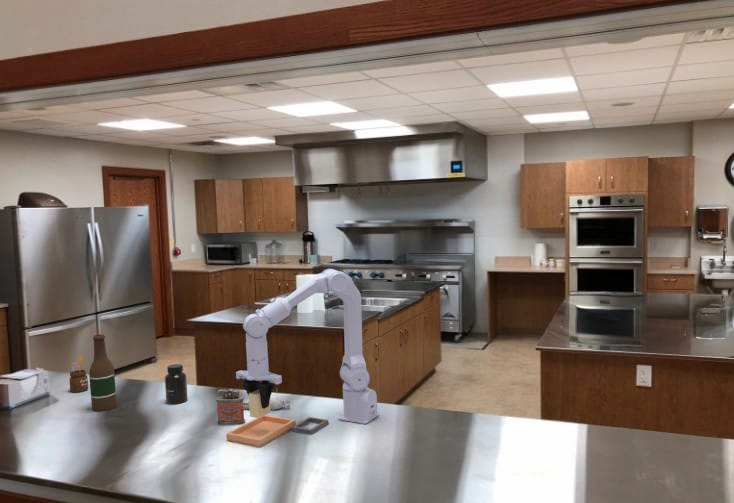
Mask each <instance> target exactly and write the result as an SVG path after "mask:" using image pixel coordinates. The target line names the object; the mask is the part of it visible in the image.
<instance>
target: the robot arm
mask: <svg viewBox="0 0 734 503" xmlns="http://www.w3.org/2000/svg"><path fill="white" fill-rule="evenodd" d="M328 291H329V292H331V293H333V294H335V296H337V297H338V298H339V299H340V300H341V301H342V302H343V304H342V305H343V331H344V332H343V334H344V335H343V336H344V355H343V357H342V359H341V360H342V364H341V367H340V370H339V377H340V378H341V380H342V381H343V385H342V400H343V414H342V415H340V416H338V420H339V421H346V422H353V423H358V424H363V425H364V424H365V425H366V424H368V423H369V422H371V421H373V420H374V419H375V418H377V417H378V416H379V415H380V414H379V413H378V396H377V392H376V391H375V390H374V389H371V388H369V387H368V385H369V383H370V374H369V372H368V370H367V363H366V361H365V360H366V359H365V358H364V355H363V322H362V320H363V319H362V318H363V316H362V294H361V292H360V291H359V289H358V287H357V286H356V284H355V282H354V280H353V278H352V277H351V276H349V275H348V274H347V273H345V272H343V271H339V270H336V269H334V268H327V269H325V270H323V271H322V272H320V273H317V274H316V275H314V276H313V277H312V278H310V279H309V280H308V281H307V282H305V283H303V284H302V285H301V286H300V287H298V288H297V289H296V290H294V291H293V292H291V293H290V294H289V295H287V296H286V297H284V298H282V297H276V298H274V297H273V298H271V299H270V300H269V301H270V303H268V304H267V305H265V306H263V307H262V308H261V309H259V308H257V309H256V310H255V313H251V314H249V315H247V316H246V317H245V318H244V319H245V320H243V321H244V322H243V324H242V328H243V329H244V331H245V341H246V342H245V349H246V366H247V368H246V370H238V371H236V372H235V375H236V376H235V377H236V380H240V379H242V380H244V381H243V382H242V383H241V386H242V387H243V388H244V390H245V392H246V393H247V395H248V397H249V393H251V392H253V391H255V390H259V393H260V397H261V405H262V408H263V409H264V408H267V407H269V401H270V398H272V397H271V395H272V394H273V390H274V388H275V386H276V385H280V384H282V382H283V380H282V379H283V378H282V376H283V375H279V374H276V373H273V372H270V370H269V369H270V368H269V352H268V340H267V333H268V331H269V329H270V328H272V327H274V326H275V325H277V324H278V323H279V322H281V321H283V320H285V318H287V317H289V316H290V314H291V310H292V308H294V307H296V306H297V305H299V304H301V303H302V302H303V301H305V300H307V299H308V298H310V297H312V296H313V295H315V294H328V293H329V292H328Z"/></svg>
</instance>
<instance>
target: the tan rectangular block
mask: <svg viewBox="0 0 734 503" xmlns="http://www.w3.org/2000/svg"><path fill="white" fill-rule="evenodd" d="M248 400H249V407H250V409H249V417H251V418H254V419H256V418H260V417H262V416H264V415H268V414H270V413H271V410H270V401H269V407H267V408H264V409H263V408H262V405H261V397H260V393H259V390H255V391H253V392H251V393H249V396H248Z"/></svg>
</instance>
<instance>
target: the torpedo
mask: <svg viewBox="0 0 734 503" xmlns="http://www.w3.org/2000/svg"><path fill="white" fill-rule="evenodd" d="M276 391H278V388H276ZM290 401H291V400H286V399H283V400H282V399H280V398H278V397H270V411H272V410H273V411H277V410H280V409H281V408H282V409H283V408H285V409H286V408H291V402H290ZM243 409H244V410H250V407H249V399H247V402H243Z"/></svg>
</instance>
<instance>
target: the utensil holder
mask: <svg viewBox="0 0 734 503" xmlns="http://www.w3.org/2000/svg"><path fill="white" fill-rule="evenodd" d="M75 364H77V366H75V367H76V370H75V367H74V365H75ZM82 365H83V355H78V356H77V361H74V362H72V364H71V365H70V366H71V368H72V369H71V372H69V377H70V378H69V380H68V381H69V390H70V392H71V393H73V394H77V393H83V392H86V391H88V390H89V378H88V376H87V371H86V370H85V369H81V366H82ZM77 367H78V369H77Z"/></svg>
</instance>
